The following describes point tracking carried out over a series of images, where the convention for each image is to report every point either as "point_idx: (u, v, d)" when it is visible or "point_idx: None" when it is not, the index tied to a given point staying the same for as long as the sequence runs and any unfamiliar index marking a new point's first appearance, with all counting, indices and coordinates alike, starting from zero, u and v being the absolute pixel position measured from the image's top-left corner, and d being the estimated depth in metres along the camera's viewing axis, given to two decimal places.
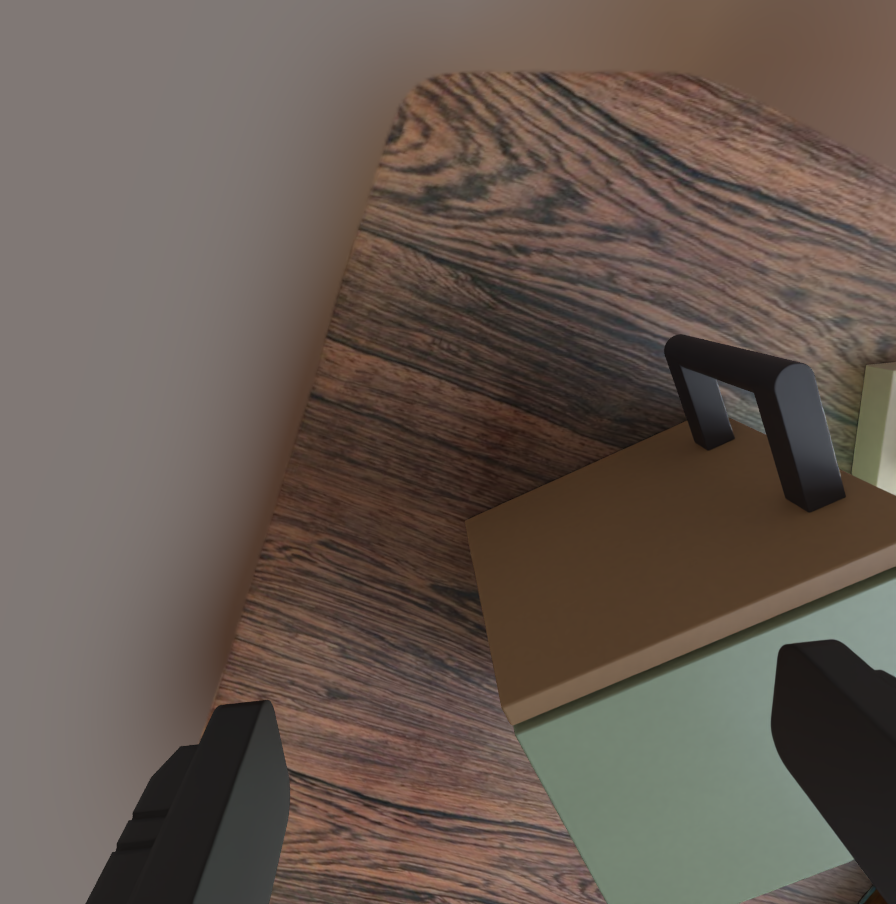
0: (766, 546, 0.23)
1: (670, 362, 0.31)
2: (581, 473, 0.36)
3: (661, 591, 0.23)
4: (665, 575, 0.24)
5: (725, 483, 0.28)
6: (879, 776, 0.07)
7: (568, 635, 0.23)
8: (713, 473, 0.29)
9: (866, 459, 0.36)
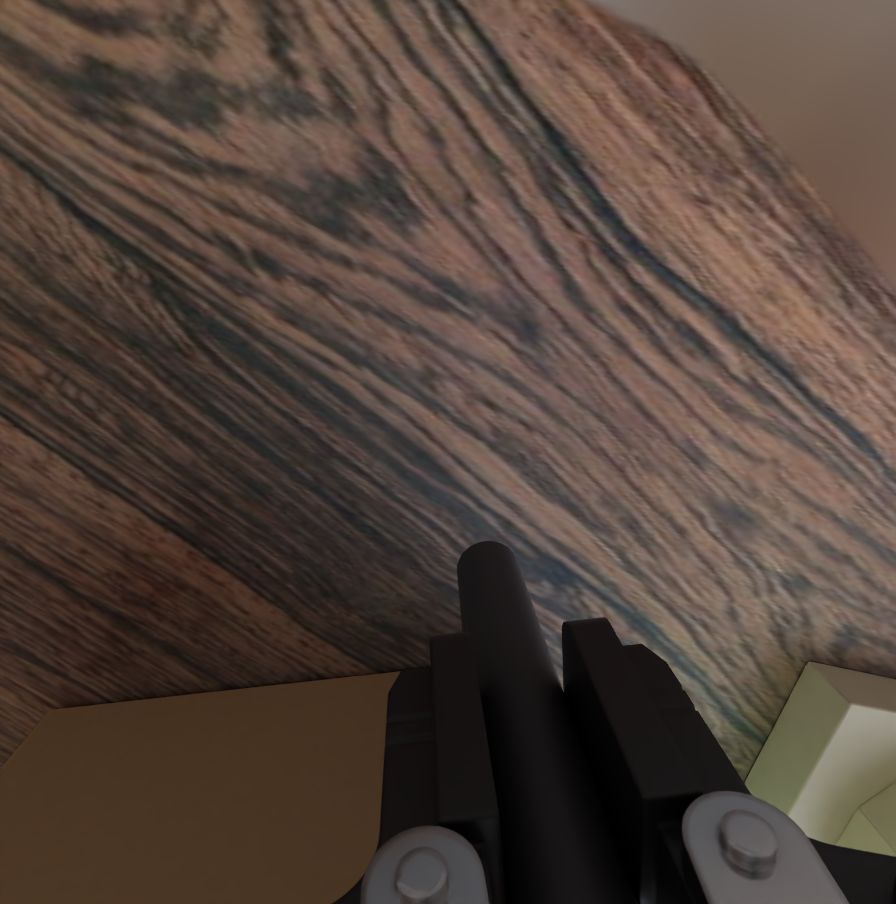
0: None
1: (459, 592, 0.15)
2: (278, 698, 0.19)
3: None
4: None
5: None
6: (598, 733, 0.08)
7: None
8: None
9: None
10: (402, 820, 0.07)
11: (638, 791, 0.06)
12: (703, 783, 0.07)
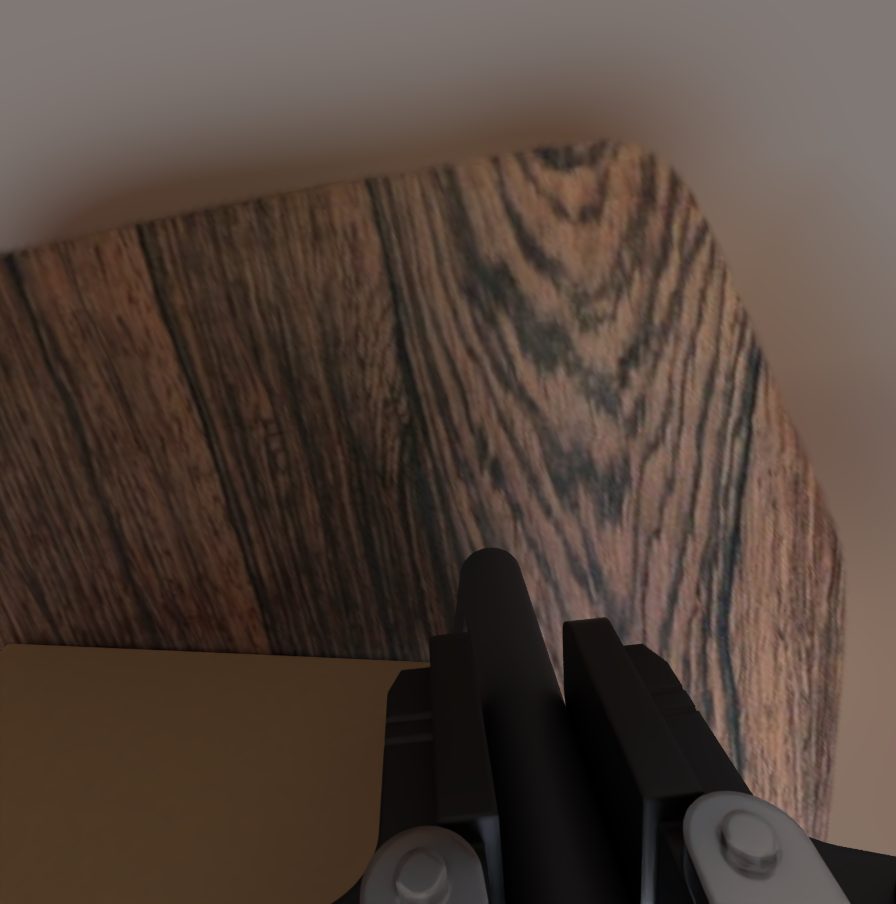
0: None
1: (460, 593, 0.15)
2: (249, 668, 0.19)
3: None
4: None
5: None
6: (599, 732, 0.08)
7: None
8: None
9: None
10: (402, 820, 0.07)
11: (639, 792, 0.06)
12: (704, 783, 0.07)
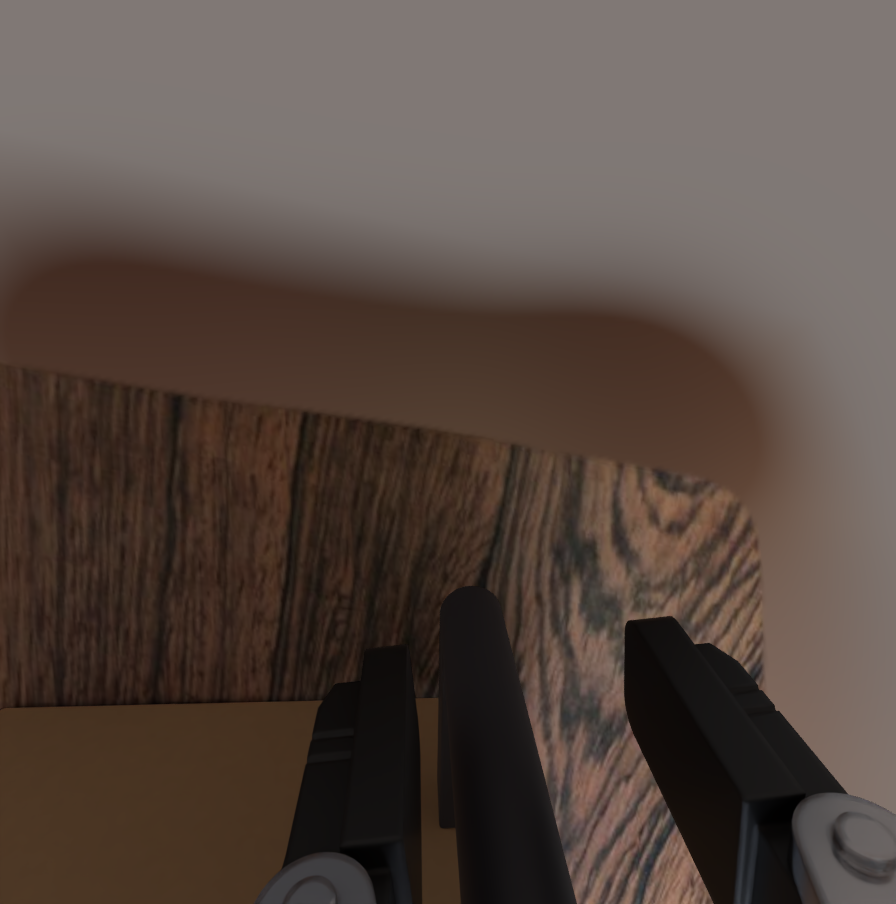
0: None
1: (440, 635, 0.15)
2: (242, 717, 0.19)
3: None
4: None
5: None
6: (677, 733, 0.08)
7: None
8: None
9: None
10: (310, 844, 0.07)
11: (738, 793, 0.06)
12: None
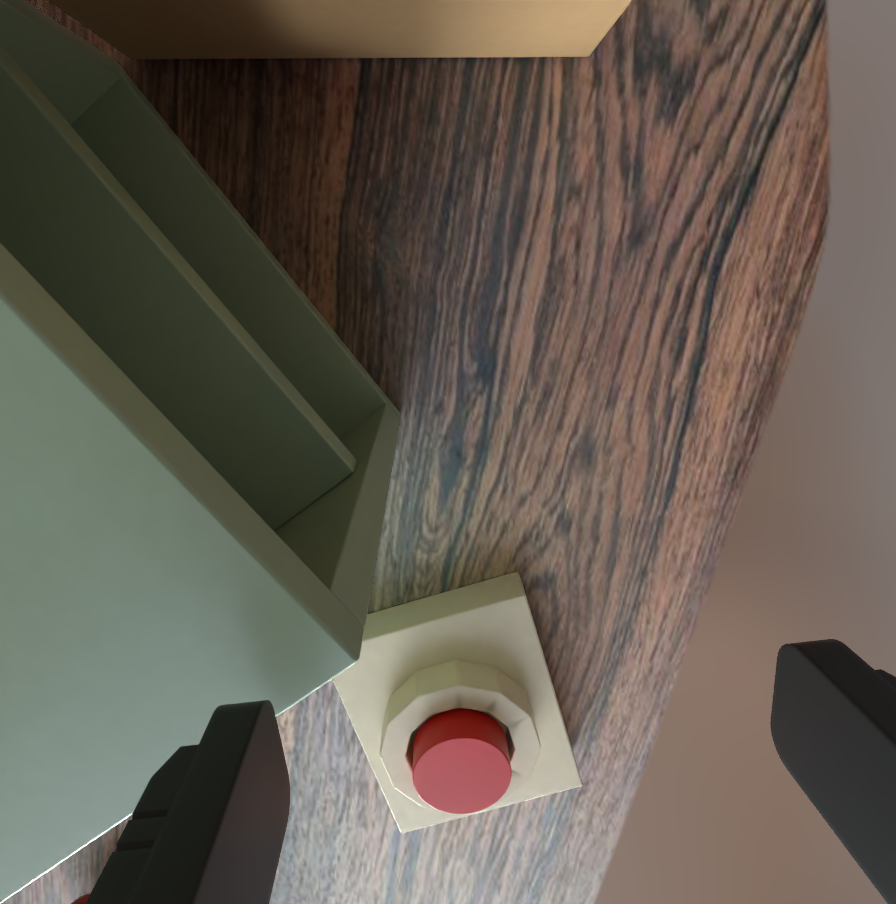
0: None
1: None
2: None
3: None
4: None
5: None
6: (879, 776, 0.07)
7: None
8: None
9: (405, 615, 0.28)
10: None
11: None
12: None
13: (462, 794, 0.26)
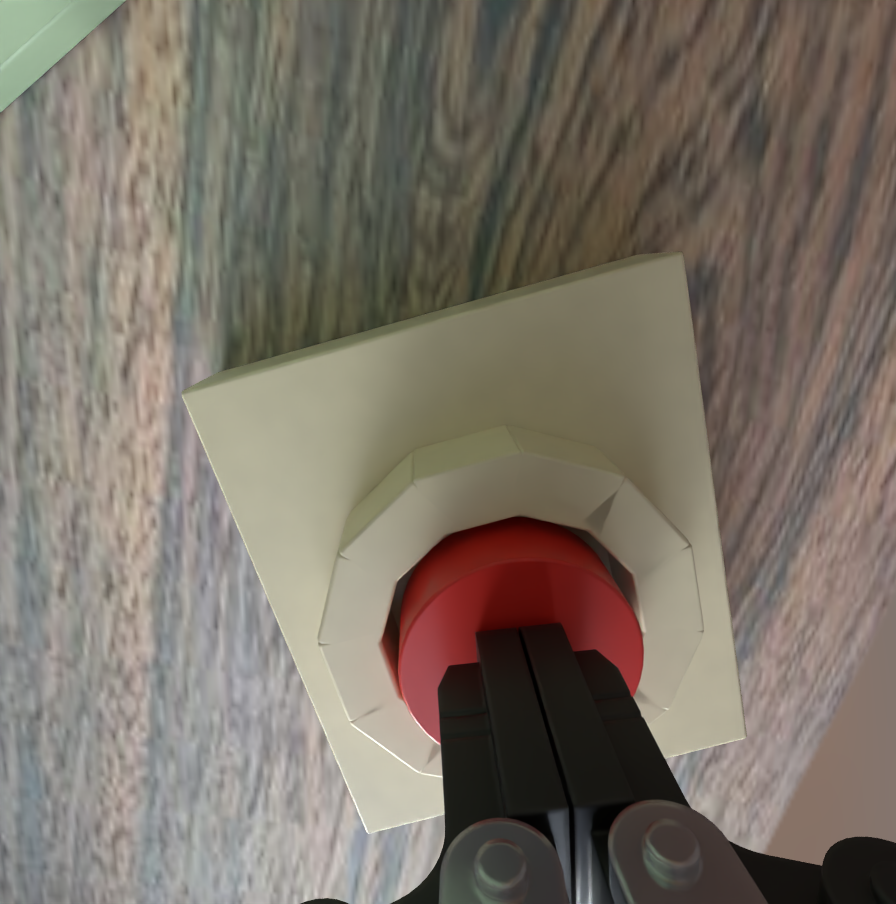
0: None
1: None
2: None
3: None
4: None
5: None
6: None
7: None
8: None
9: (388, 328, 0.12)
10: (468, 814, 0.07)
11: (571, 799, 0.06)
12: (640, 791, 0.07)
13: None
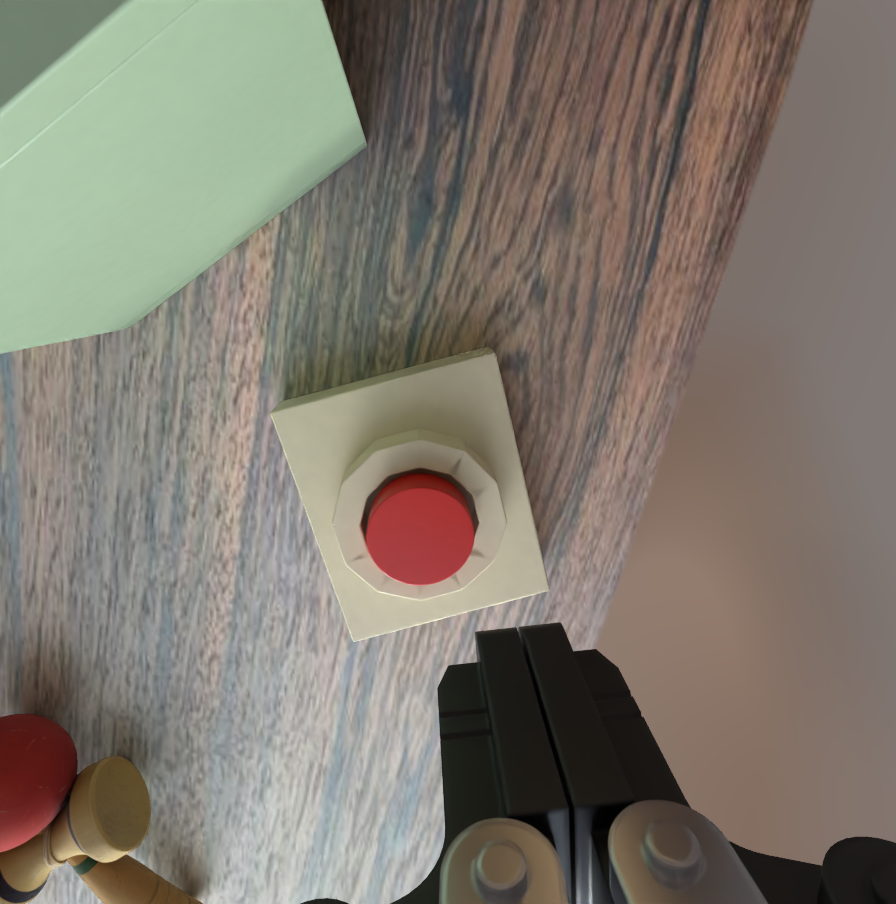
0: None
1: None
2: None
3: None
4: None
5: None
6: None
7: None
8: None
9: (364, 382, 0.26)
10: (468, 814, 0.07)
11: (572, 799, 0.06)
12: (641, 791, 0.07)
13: (420, 559, 0.24)
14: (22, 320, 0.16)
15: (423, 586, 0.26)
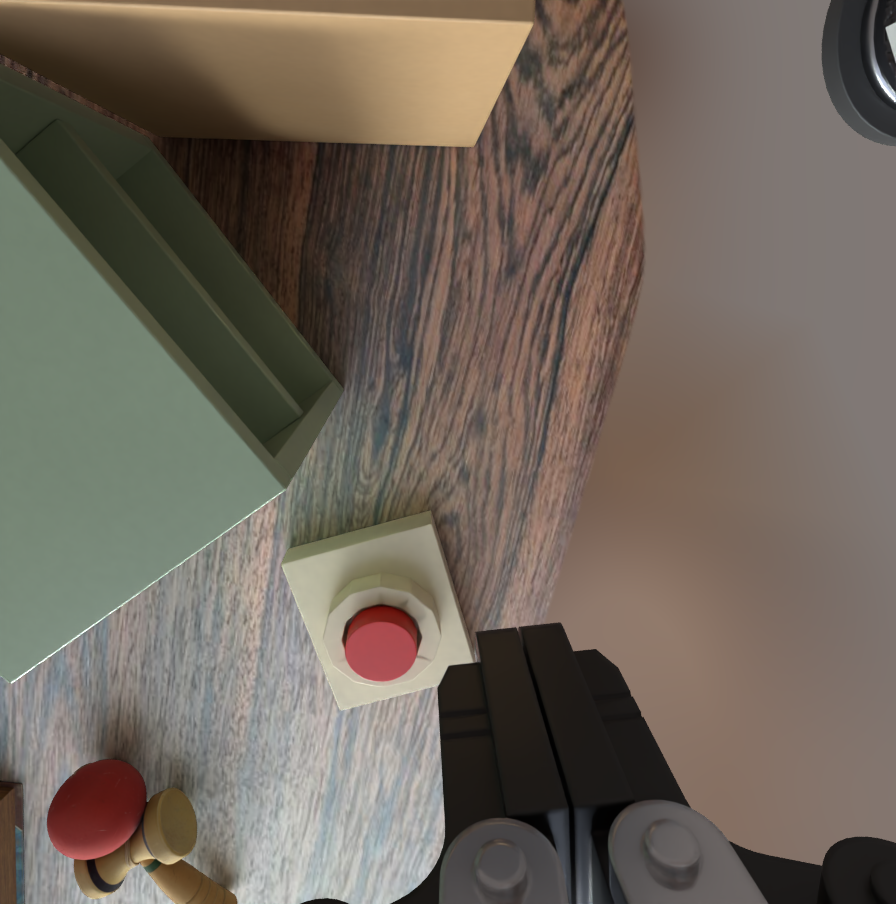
0: None
1: None
2: None
3: None
4: None
5: None
6: None
7: None
8: None
9: (345, 539, 0.37)
10: (468, 814, 0.07)
11: (571, 799, 0.06)
12: (640, 791, 0.07)
13: (381, 665, 0.36)
14: None
15: None
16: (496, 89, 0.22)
